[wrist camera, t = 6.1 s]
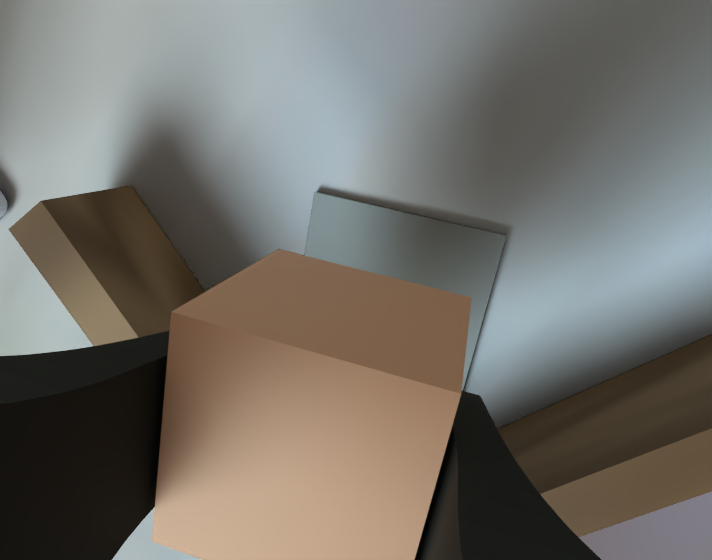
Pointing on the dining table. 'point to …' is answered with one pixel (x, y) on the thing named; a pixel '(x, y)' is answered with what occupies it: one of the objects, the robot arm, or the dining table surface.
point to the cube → (307, 413)
